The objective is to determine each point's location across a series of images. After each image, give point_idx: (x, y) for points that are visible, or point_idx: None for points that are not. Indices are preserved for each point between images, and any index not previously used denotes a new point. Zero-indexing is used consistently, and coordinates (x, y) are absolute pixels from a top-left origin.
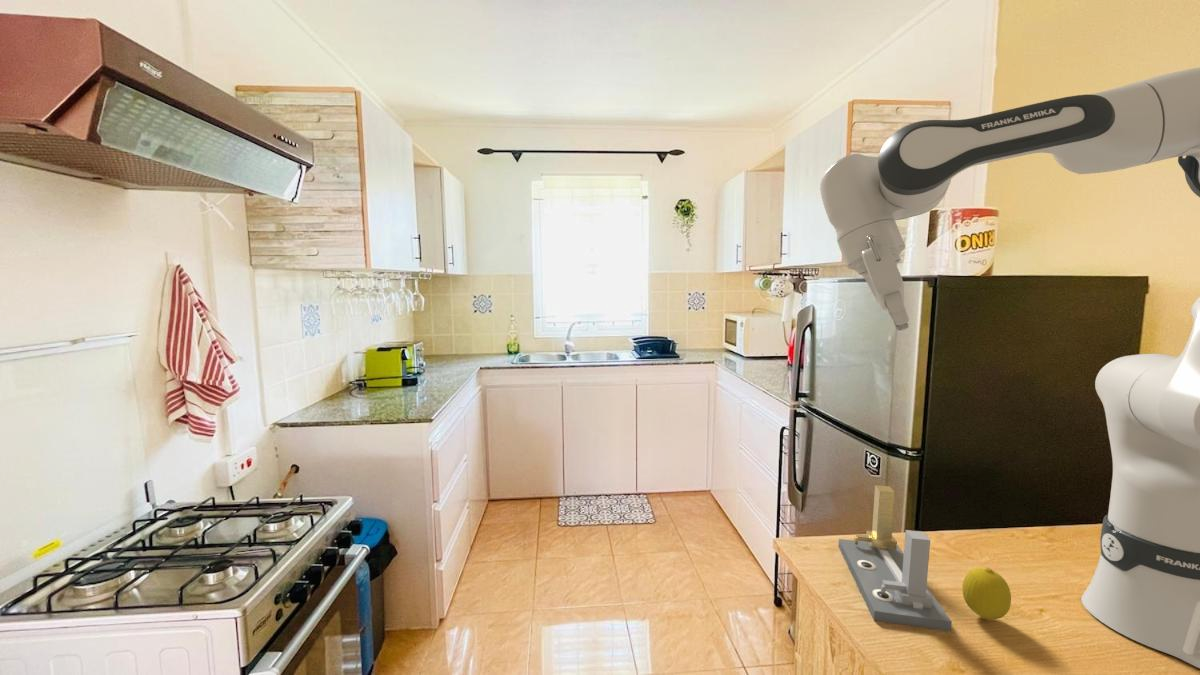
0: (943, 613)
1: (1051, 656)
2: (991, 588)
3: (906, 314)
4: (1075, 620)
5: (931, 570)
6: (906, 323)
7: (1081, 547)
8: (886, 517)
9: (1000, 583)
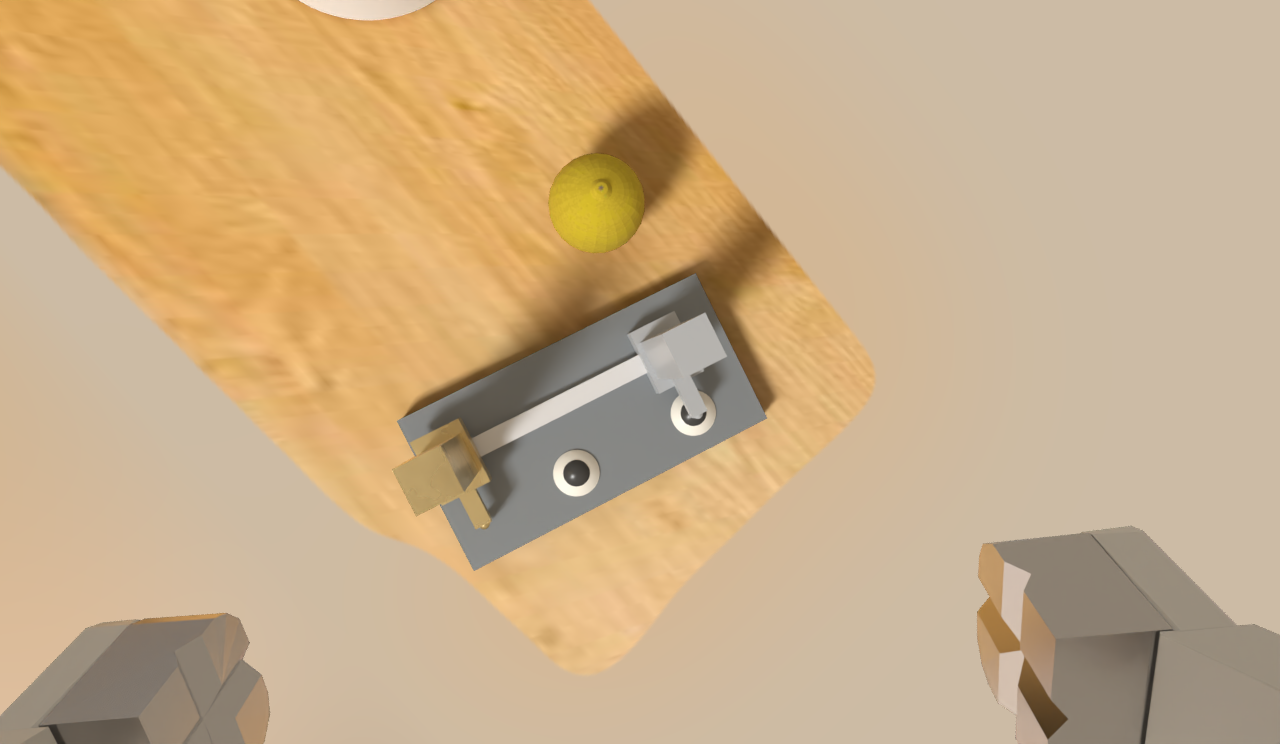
0: (674, 290)
1: (645, 107)
2: (638, 188)
3: (1190, 579)
4: (461, 46)
5: (440, 331)
6: (197, 655)
7: None
8: (461, 456)
9: (621, 168)
